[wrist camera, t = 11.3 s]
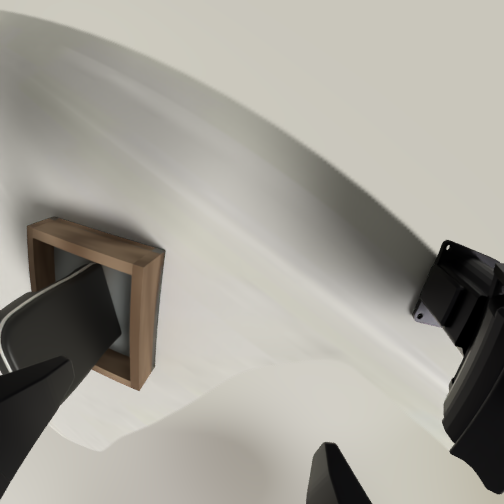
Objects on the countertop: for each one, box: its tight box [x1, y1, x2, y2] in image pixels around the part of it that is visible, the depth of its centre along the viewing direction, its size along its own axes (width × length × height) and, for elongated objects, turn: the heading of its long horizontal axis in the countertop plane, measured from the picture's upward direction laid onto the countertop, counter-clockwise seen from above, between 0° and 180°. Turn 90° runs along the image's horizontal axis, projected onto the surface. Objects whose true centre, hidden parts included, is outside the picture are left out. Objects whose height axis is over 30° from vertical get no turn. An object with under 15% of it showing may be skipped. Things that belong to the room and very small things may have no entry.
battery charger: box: [0, 262, 122, 405], centre depth 17 cm, size 7×4×11 cm, turn 7°
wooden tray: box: [27, 217, 165, 391], centre depth 21 cm, size 12×12×4 cm
